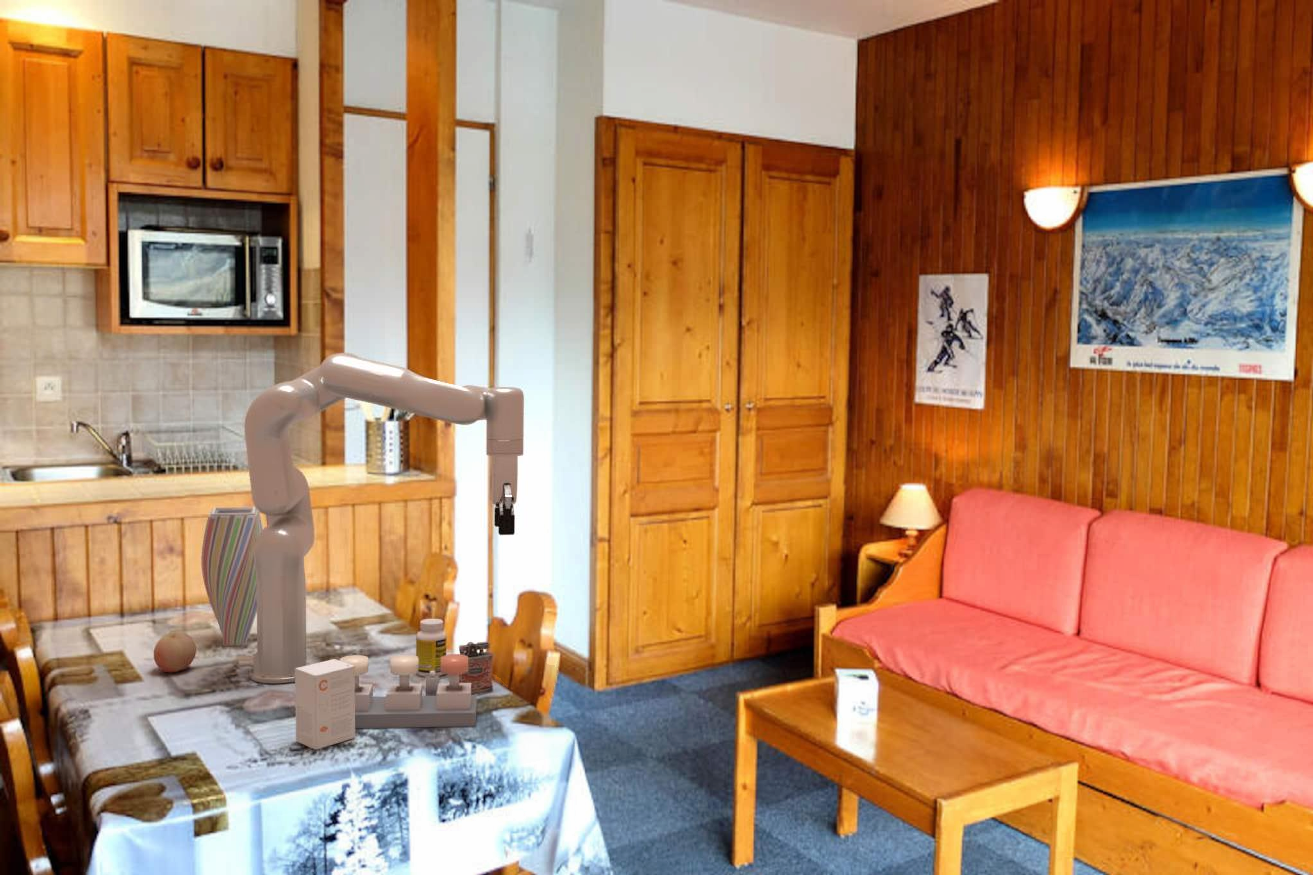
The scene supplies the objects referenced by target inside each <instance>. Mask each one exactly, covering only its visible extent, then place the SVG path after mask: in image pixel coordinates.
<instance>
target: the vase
mask: <svg viewBox="0 0 1313 875" xmlns="http://www.w3.org/2000/svg"><path fill="white" fill-rule="evenodd" d="M260 514H261V513H260V511H259V510H258V509H257V508H256V507H255V506H237V507H235V506H233V507H213V508H212V509H211V511H210V512H209V514H208V517H207V521H206V526H205V530H204V533H203V534H204V536H203V542H202V548H201V555H200V556H201V560H200V562H201V563H200V564H201V573H202V574H201V575H202V578H203V584H204V588H205V592H206V595H207V598H208V601H209V604H210V605H211V606H210V607H211V609H212V611H213V614H214V616H215V619H216V622H217V625H218V627H219V630H220V632H221V637H222V646H223V647H229V646H230V647H231V646H232V647H233V646H246V645H247V643H248V639H249V635H250V633H251V630H252V627H253V624H254V622H255V618H256V617H257V586H256V571H255V564H254V545H255V541H256V539H257V537H258V535H259V534H260V532H261V531H262V530H263V529H264V527H263V524H262V519H261V515H260Z"/></svg>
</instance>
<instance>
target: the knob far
mask: <svg viewBox="0 0 1313 875" xmlns="http://www.w3.org/2000/svg"><path fill="white" fill-rule="evenodd" d="M441 672H442V673H444V674H443V675H449V676H448V678H449V679H448V681H449V682H448V683H449V687H450V688H458V687H459V674H463V673H466V672H468V656H466V655H462V654H460V653H450V654H446V655H445V656H442V657H441Z"/></svg>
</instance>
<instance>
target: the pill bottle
mask: <svg viewBox="0 0 1313 875" xmlns="http://www.w3.org/2000/svg"><path fill="white" fill-rule="evenodd" d="M419 628H420V631H418V632H417V634H416V636H415V637H416V639H415V643H416V644H415V648H416V649H415V652H416V653H415V656H417V657H418V672H417V673H416V674H417V676H420V677H425V678H426V677H427V676H430V671H432V670H434V671H435V675H436V676H439V677H440V676H443V675H445V674H444V673H442V672H441V657H442V656H445V655H447V642H448V641H447V640H448V639H447V632H445V631H444V630H443V628H444V621H443V620H442V619H440V618H425V619H422V620H420V622H419Z"/></svg>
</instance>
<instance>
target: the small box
mask: <svg viewBox="0 0 1313 875" xmlns="http://www.w3.org/2000/svg"><path fill="white" fill-rule="evenodd" d="M310 664H311V663H310ZM294 683H295V684H294V686H295V690H294V691H295V692H294V693H295V695H294V696H295V701H294V702H295V741H296V742H297V743H299V744H302V745H303V746H305V747H306V746H307V747H309V748H311V749H314V750H315V751H316V750H317V751H318V750H320V749H323V748H326V747H329V746H332V745H336V744H338V743H339V744H340V743H342V742H346V741H348V740H351V739H355V738H356V728H355V666H353V665H351V664H348V663H345V662H342V661H340V659H335V658H332V659H329V660H325V661H320V662H316V663H312V664H311V665H307V666H303V667H299V668H295V682H294Z"/></svg>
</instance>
